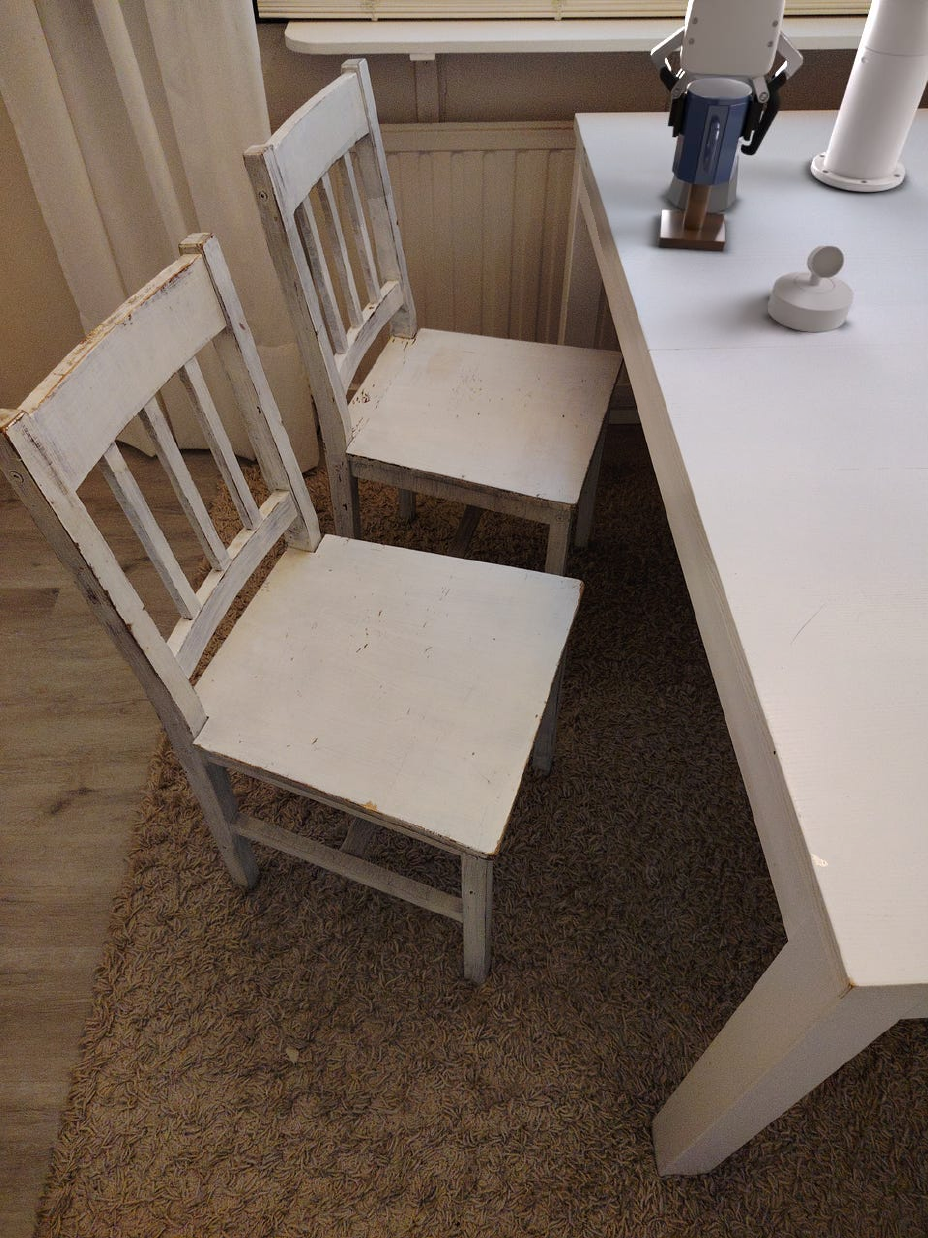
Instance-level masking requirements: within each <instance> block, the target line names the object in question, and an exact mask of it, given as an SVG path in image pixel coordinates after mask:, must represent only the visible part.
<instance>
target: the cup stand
mask: <svg viewBox="0 0 928 1238" xmlns="http://www.w3.org/2000/svg"><path fill="white" fill-rule="evenodd" d="M711 186H712V185H696V184H691V183H690V188H689V194H688V199H687V204H686V210H674V209H673V210H670V209H662V210H661V216H660V227H659V238H658V239H659V241H658V247H659V248H670V249H672V248H673V249H685V250H686V249H687V250H702V251H715V252H716V251H718V252H723V251H724V248H725V244H726V230H725V227H726V226H725V213H724V212H723V213H721V212H715V213H707V212H706V210H707V206H708V201H709V196H710V191H711Z"/></svg>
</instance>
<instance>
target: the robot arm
mask: <svg viewBox="0 0 928 1238" xmlns="http://www.w3.org/2000/svg"><path fill="white" fill-rule="evenodd" d="M870 5H871V6H870V10H869V13H868V16H867V20H866V23H865V25H864V26H865V27H864V30H863V33H862V36H861V40H860V42H859V46H858V49H857V52H856V56H855V59H854V62H853V64H852V69H851V72H850V75H849V78H848V81H847V85H846V88H845V91H844V95H843V98H842V101H841V105H840V107H839V111H838V114H837V116H836V117H837V118H836V121H835V124H834V127H833V131H832V134H831V137H830V140H829V143H828V147H827V150H826V151H822V152H820V153H818V154H816V156H814V158H813V159H812V162H811V165H810V171H811V173H812V175H813V176H814V178H816V179H817V180H819V181H820V182H822V183H824V184H826V185H828V186H831V187H834V188H837V189H841V190H845V191H852V192H864V193H873V192H883V191H887V190H888V191H889V190H891V189H894V188H895V187H898V186H899V185H900V184H901V183H902V182H903V180H904V178H905V176H906V168H905V166H904V164H902V162H900V161H899V159H900V156H901V153H902V151H903V147H904V145H905V142H906V140H907V137H908V134H909V132H910V130H911V127H912V124H913V121H914V118H915V116H916V113H917V110H918V107H919V105H920V102H921V100H922V97H923V94H924V92H925V89H926V86H927V83H928V0H872V2H871V4H870ZM785 7H786V0H688V6H687V10H686V15H685V20H684V25H683V27H681V28H679V29H678V30H677V31H676V32H674V33H673V34H672V35H670V36H669V37H667V38H666V39H665V40H664V41H662V42H660V43H659V44H658V45H657V46H655V47H654V48H653V49H652V50H651V53H650V59H651V62H652V64H653V66H654V68H655V70H656V72H657V73H658V77H659V79H660V80H661V82H662V83H663V85H664V86H665V88H666V89H667V91H668V92H669V94H670V96H671V101H670V107H669V114H668V119H667V127H671V128H672V134H671V138H678V136H679V130H680V125H681V119H682V113H683V107H684V101H685V93H686V92H685V90H687V86H688V85H689V83H690V82H691V80H692V79H693V78H694V76H695V75H700V76H720V77H747V78H752V81H753V84H754V88H755V90H754V93H753V95H752V100H751V104H750V108H749V113H748V117H747V121H746V126H745V130H744V134H743V139H742V141H743V140H744V142H751V138H752V134H753V132H754V131H757V130H758V126H759V123H760V120H761V117H762V114H763V111H764V110H763V109H764V105H765V103H766V101H767V100H768V98H769V97H770V96H771V95H772V94H773V93H775V92H776V91H777V90H780V89H781V88H782V87H783V86H784V85H785V84H786V82H787V81H788V80H789V79H790V78H791V77H792V76H793V75H794V74H795V73H796V72H797V71H798V70H799V69H800V67H802V66H803V64H804V56H803V54H802V53H801V52H800V51H799V49H797V47H796V46H795V45H794V44H793V42H791V40H790V39H789V38H788V36H787V35H785V34H784V33H783V31H782V30H781V29H782V24H783V18H784V13H785ZM678 49H679V58H680V60H679V66H680V70H679V71H678V73H677V74H676V72H674V70H673V68H672V67H671V65H670V64H669V62H668V59H667V58H668V56H669V55H671V54H672V53H673V52H675V51H677V50H678ZM777 52H778V53H779V54H780V55H781V56H782V57H783V58H784V60H785V62H784V63H783V65H782V66H781V67H780V68H779V69H778V70H776V71H775V72H773V74H771V76H769V77H768V78H766V75H767V74H768V73H770V71H771V70H772V68H773V65H774V62H775V58H776V53H777ZM766 79H767V80H766Z"/></svg>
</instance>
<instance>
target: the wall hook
mask: <svg viewBox="0 0 928 1238" xmlns="http://www.w3.org/2000/svg"><path fill="white" fill-rule="evenodd" d="M844 264H845V255H844V253H843V251H842V249H840V248H839V247H837V246H834V245H825V244H824V245H820V246H817V247H815V248H814V249H812V251H811V252H810V253H809V255H808V257H807V260H806V266H807V269H808V271H795V272H789V273H786V274H784V275H781V276H780V277H778V278H777V279H775V282H774V284H773V286H772V290H771V294H770V297H769V300H768V303H767V312H768V314H769V316H770V317H771V318H772V319H773V320H774V321H776V322H777V323H779V324H780V325H782V326H785V327H787V328H790V329H793V330H796V331H802V332H808V333H823V332H829V331H833V330H835V329H838V328H840V327H841V326H842V325H843V324H844V323H845V321H846V319H847V317H848V314H849V311H850V309H851V307H852V303H853V301H854V297H855V295H854V291H853V289H852V288H851V287H850V286H849V285H848V283H846V282H845V281H843V280H842V279H840V278H837V277H835V276H836V275H838V274H839V272H840V271H841V270H842V269H843V266H844Z"/></svg>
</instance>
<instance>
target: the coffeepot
mask: <svg viewBox="0 0 928 1238" xmlns="http://www.w3.org/2000/svg"><path fill="white" fill-rule="evenodd" d="M707 78H724V79H732V80H736V81H740V82H743V83H745V84H747V85H749V86H750V87H751V89H752V94H751V95H753V93H754V90H755V88H754V84H753V81H752V78H747V77H720V76H700V75H695V76H694V78H693V79H692V80H691V82H690V83H692V82H694V81H696V80H700V79H707ZM767 79H768V78H766V80H767ZM690 83H689V84H690ZM687 88H688V86H687V87H686V89H687ZM779 90H780V89H778V90H777V91H776V92H775V93H773V94H772V95H771V96H770V97H769V98H768V100H767V101H766V102H765V103H766V107H765V108H764V110H763V111H762V114H761V118H760V122H759V126H758V130H757V131H753V132H752V135H751V140H750V143H749V145H748V144H744V143H741V147H740V152H741V153H742V154H743V155H746V156H750V157H751V156H754V155H755V154H756V153H757V152H758V150H759V148H760V146H761V144H762V143H763V140H764V139H765V137H766V135H767V133H768V131H769V129H770V128H771V126H772V124H773V122H774V121H775V119H776V116H777V115H778V114H779V112H780V109H781V106H782V97H781V94H780V91H779ZM739 158H740V155H739V156H738V160H737V165H736V169H735V173H734V176H733V177H732V178H731V179H730V181H728V182H726V183H721V184H717V185H712V186H711V191H710V196H709V201H708V206H707V210H706V212H707V213H721V212H723V211H725V210H728V209H729V208H730V207H731V206H732V205H733V203H734V202H735V200H737V199H736V198H737V184H738V174H739V173H738V171H739ZM689 188H690V183H688V182H685V181H682V180H680V179H678V178H676V176H675V175H674V174H673V176H672V180H671V182H670V184H669V188H668V191H667V194H666V197H667V198H668V200H669V201H670V203H671V204H672V205H673V206H674V207H676V208H678V209H680V210H682V211H685V210H686V204H687V199H688V194H689Z"/></svg>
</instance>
